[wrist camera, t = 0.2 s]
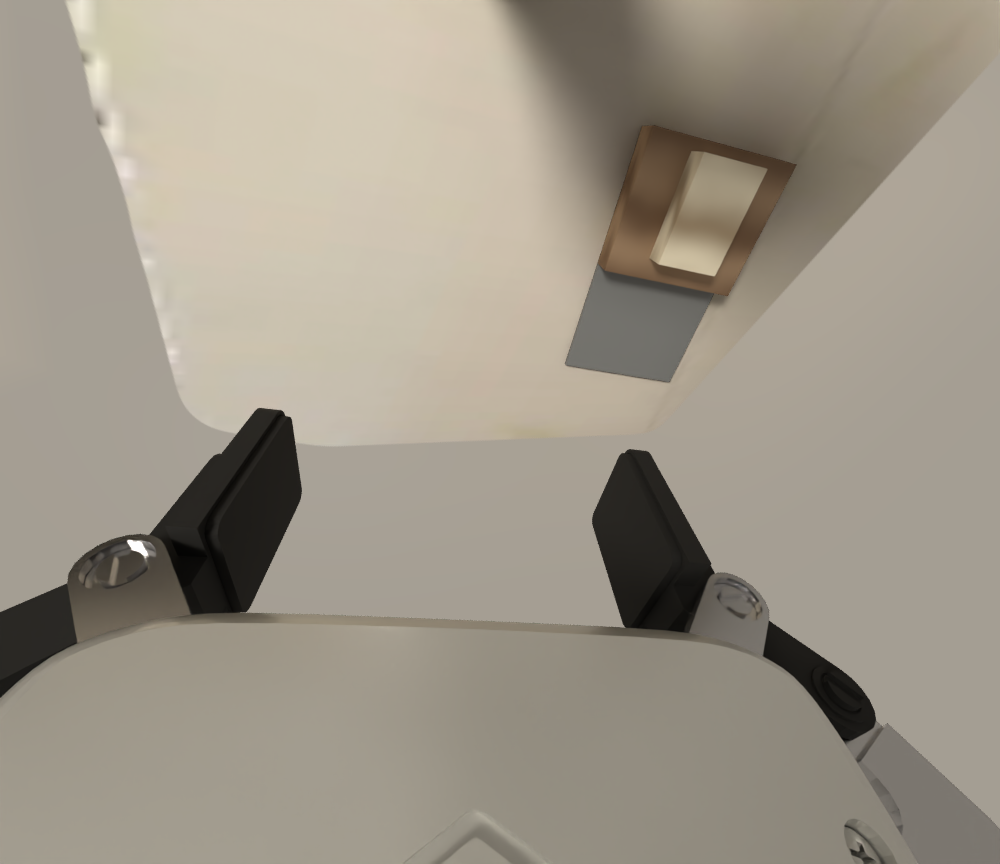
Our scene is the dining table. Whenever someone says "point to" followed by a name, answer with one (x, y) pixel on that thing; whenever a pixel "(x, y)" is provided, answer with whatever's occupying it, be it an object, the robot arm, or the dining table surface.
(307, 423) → the dining table surface
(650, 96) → the dining table surface
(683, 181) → the tile
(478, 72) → the dining table surface
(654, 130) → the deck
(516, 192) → the dining table surface
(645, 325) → the mat
